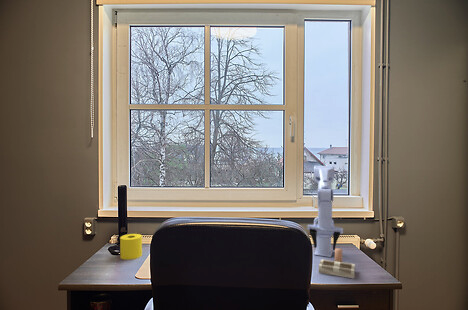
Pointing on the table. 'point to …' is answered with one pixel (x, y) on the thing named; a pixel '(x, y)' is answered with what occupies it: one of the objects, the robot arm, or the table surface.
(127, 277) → the table surface
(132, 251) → the tape roll
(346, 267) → the bore block
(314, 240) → the robot arm
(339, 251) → the dowel
